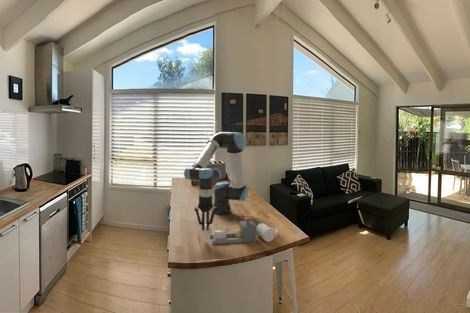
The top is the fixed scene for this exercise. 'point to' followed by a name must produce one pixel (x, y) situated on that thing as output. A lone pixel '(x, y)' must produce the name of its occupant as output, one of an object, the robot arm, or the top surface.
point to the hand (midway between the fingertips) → (205, 235)
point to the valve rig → (239, 233)
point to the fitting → (219, 234)
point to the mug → (266, 232)
